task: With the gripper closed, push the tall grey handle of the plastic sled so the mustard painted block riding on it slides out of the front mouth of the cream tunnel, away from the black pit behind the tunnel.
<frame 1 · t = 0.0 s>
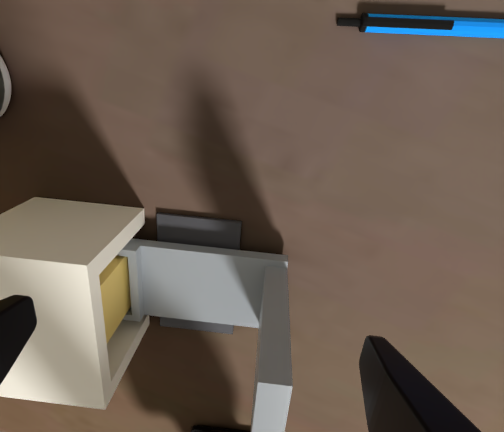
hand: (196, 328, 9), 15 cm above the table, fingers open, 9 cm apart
sled: (147, 325, 21), point 6 cm above the table, slide at 0.0 cm, touching block
tunnel: (96, 264, 26), on the table
block: (99, 277, 25), point 1 cm above the table, touching sled
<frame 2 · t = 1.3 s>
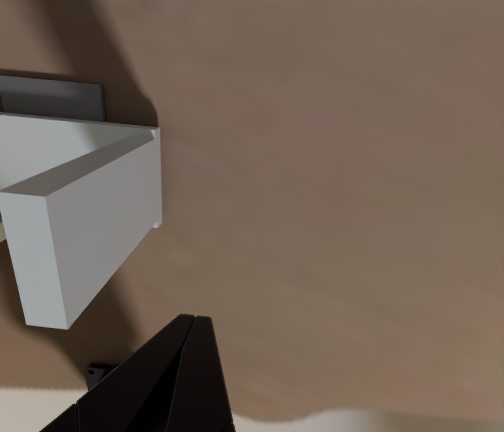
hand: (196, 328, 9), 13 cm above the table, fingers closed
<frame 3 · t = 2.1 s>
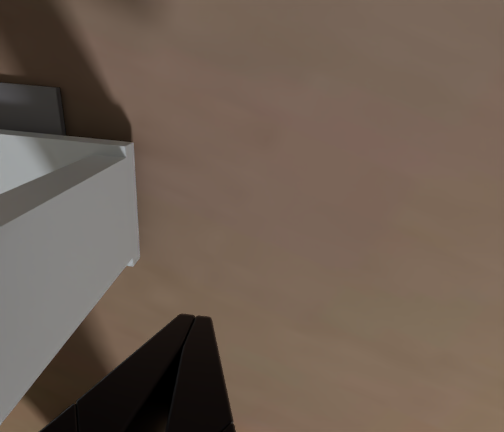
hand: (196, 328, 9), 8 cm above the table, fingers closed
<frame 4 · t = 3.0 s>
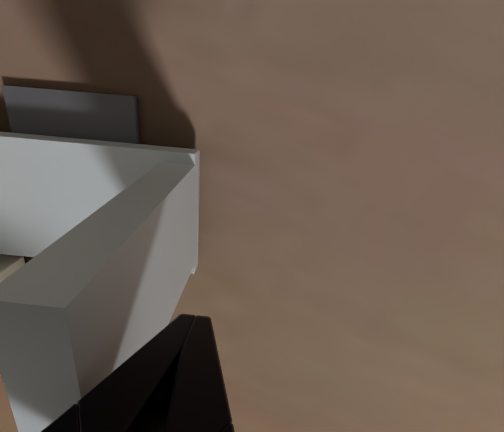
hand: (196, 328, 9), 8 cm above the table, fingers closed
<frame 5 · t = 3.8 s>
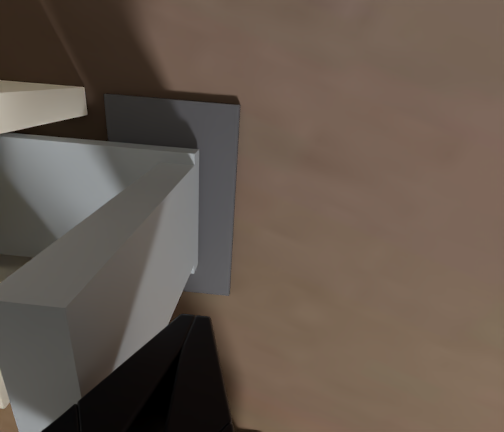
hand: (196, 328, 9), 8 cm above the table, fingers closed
tunnel: (20, 189, 17), on the table
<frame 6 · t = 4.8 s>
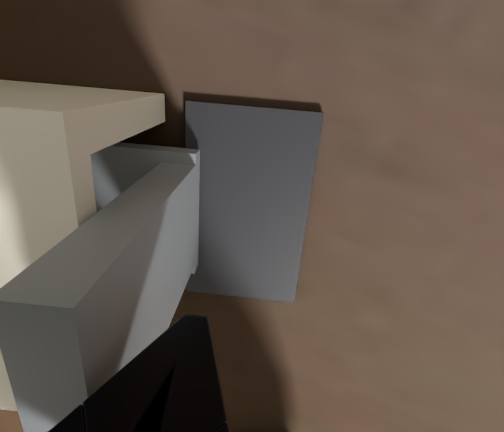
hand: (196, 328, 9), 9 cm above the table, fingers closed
tunnel: (88, 196, 17), on the table
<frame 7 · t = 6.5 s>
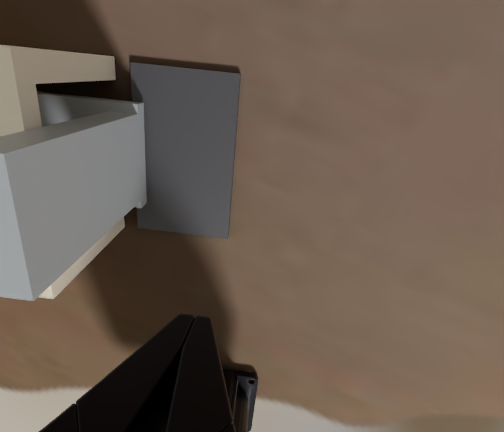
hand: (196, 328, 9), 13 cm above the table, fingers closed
tunnel: (56, 143, 21), on the table
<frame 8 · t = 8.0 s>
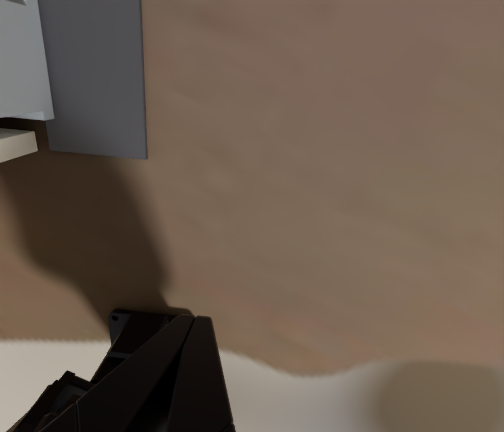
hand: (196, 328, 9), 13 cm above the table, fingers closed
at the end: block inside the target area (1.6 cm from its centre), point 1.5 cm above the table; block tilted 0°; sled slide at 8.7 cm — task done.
